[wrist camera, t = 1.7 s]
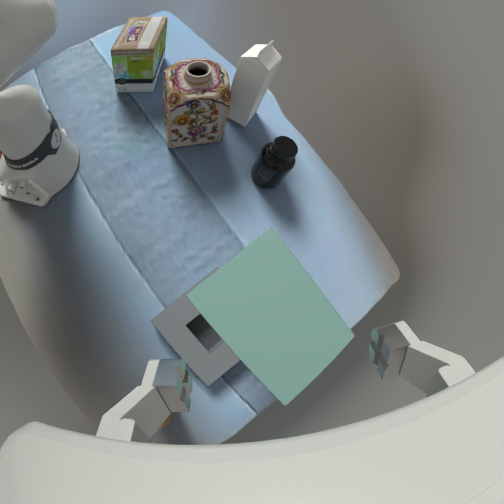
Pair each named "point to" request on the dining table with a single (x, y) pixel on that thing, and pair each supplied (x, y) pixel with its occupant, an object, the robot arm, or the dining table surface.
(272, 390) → the socket stand
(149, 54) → the tea box
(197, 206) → the dining table surface
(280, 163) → the supplement bottle
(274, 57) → the milk
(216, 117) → the decorative jar
